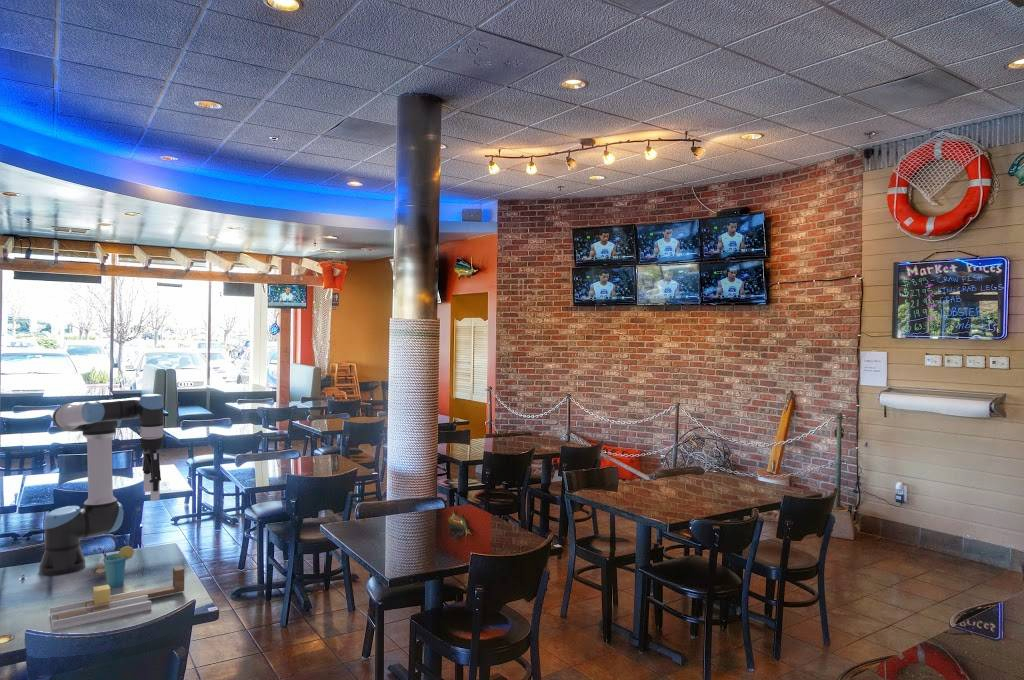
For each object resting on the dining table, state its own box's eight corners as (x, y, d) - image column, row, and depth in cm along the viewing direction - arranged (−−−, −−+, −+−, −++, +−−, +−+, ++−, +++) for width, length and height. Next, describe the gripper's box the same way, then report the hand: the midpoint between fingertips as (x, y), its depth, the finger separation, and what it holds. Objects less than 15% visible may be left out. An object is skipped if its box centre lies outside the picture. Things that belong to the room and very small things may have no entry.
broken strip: (57, 619, 226) (57, 614, 226) (108, 608, 235) (108, 604, 235) (58, 623, 223) (58, 618, 223) (110, 612, 232) (110, 608, 231)
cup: (92, 593, 250) (92, 552, 249) (88, 586, 256) (88, 546, 255) (135, 584, 258) (135, 544, 258) (131, 578, 264) (131, 539, 264)
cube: (93, 600, 237) (93, 587, 237) (108, 597, 240) (108, 584, 240) (94, 604, 234) (95, 591, 234) (110, 601, 237) (110, 588, 236)
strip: (85, 606, 236) (85, 583, 236) (181, 587, 254) (181, 565, 254) (87, 610, 233) (87, 587, 232) (184, 591, 251) (184, 569, 251)
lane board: (50, 615, 231) (50, 607, 231) (144, 596, 248) (144, 588, 248) (53, 630, 221) (53, 621, 221) (151, 609, 238) (151, 601, 238)
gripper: (134, 433, 260) (133, 489, 260) (146, 443, 240) (146, 505, 240) (156, 431, 264) (156, 487, 265) (170, 441, 244) (170, 501, 245)
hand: (151, 495), depth 253 cm, fingers open, 13 cm apart
